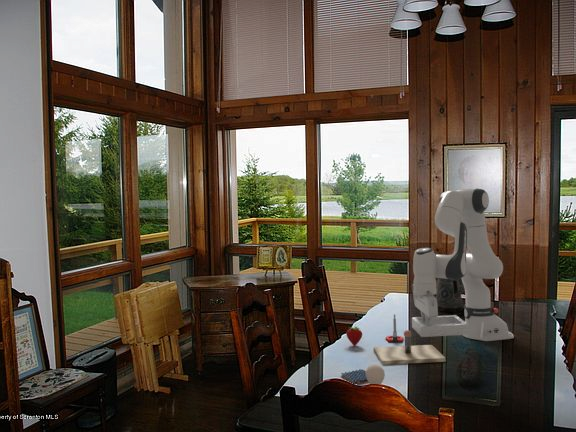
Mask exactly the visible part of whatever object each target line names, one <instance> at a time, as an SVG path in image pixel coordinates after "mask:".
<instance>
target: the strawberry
mask: <svg viewBox="0 0 576 432" xmlns="http://www.w3.org/2000/svg"><path fill="white" fill-rule="evenodd" d="M345 334H346V337H347V339H348V341H349V342H350V343H351V344H352V345H353V346H356V345H357V344H358V343H359V342H360V341H361V339H362V337H363V332H362V330H361V328H359V327H358V326H354V327H349V328H348V329H347V330H346V333H345Z"/></svg>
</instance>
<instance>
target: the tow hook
mask: <svg viewBox="0 0 576 432" xmlns="http://www.w3.org/2000/svg"><path fill="white" fill-rule="evenodd" d="M392 319H393V331H392V335H387V336H386V337H385V340H386V341H387V342H388V343H403V341H405V337H403V336H400V335H398V330H397V318H396V314H393V318H392Z"/></svg>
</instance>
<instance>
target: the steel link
mask: <svg viewBox="0 0 576 432" xmlns="http://www.w3.org/2000/svg"><path fill="white" fill-rule="evenodd" d="M411 328H412V329H413V330H414V331H415V332H416V333H417V334H418V335H419V336H420V337H421V338H427V337H429V338H430V337H449V336H463V335H469V332H468V324H467V323H466V322H465V320H463V319H462V318H460V316H458V315H457V314H453V315H452V314H451V315H438V316H437V317H431V318H430V324H428V325H426V324H425V317H422V316H414V317H411Z"/></svg>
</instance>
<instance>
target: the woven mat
mask: <svg viewBox="0 0 576 432" xmlns="http://www.w3.org/2000/svg"><path fill="white" fill-rule="evenodd" d="M340 374H341V375H340V377H341V378H343V379H344V380H346V379H347V380H346V382H349V381H350V382H349V383H351V382H352V383H354V384H358V385H363V384H366V382H367V383H369V382H368V380H367V378H366V370H365V369H361V368H359V370H357V369H355V370H352V371H350V370H349V371H347V372H346V371H345V372H341V373H340ZM352 383H351V384H352ZM362 383H363V384H362ZM354 384H353V385H354Z"/></svg>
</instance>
